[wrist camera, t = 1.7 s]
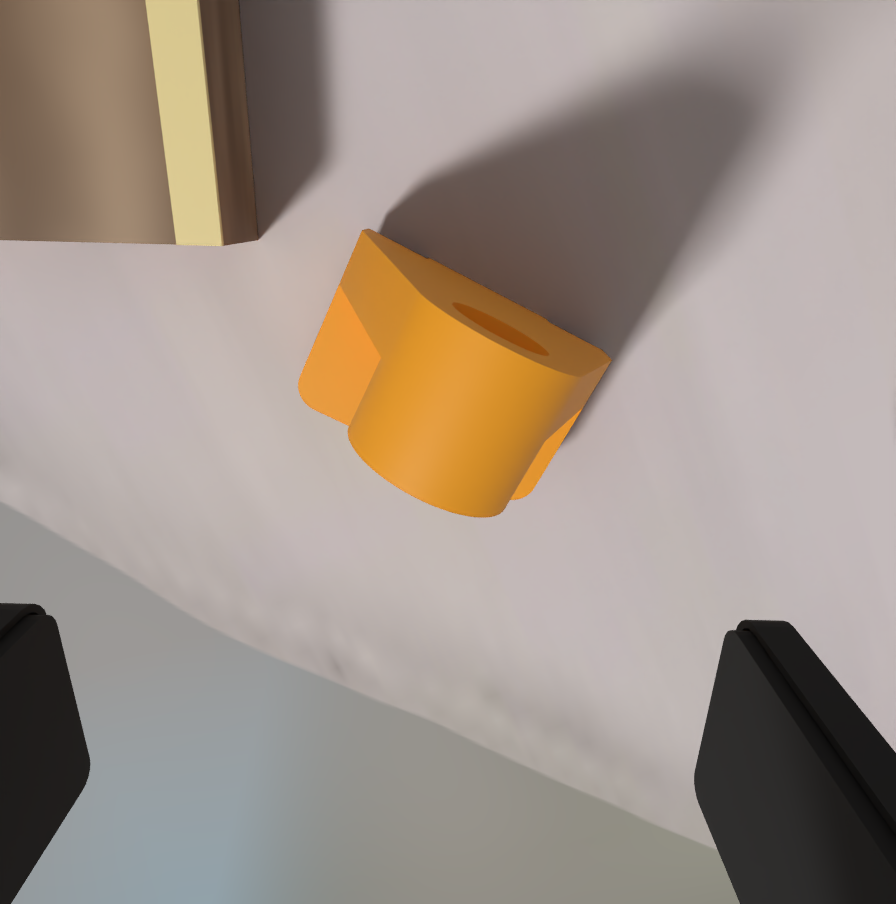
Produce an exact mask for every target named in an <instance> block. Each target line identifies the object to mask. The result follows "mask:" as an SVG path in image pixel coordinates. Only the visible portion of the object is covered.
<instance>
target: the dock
mask: <svg viewBox="0 0 896 904" xmlns="http://www.w3.org/2000/svg"><path fill="white" fill-rule="evenodd" d="M0 240H21V241H61V242H100V243H140V244H176V245H204V246H225V245H231V244H237V243H243V242H249V241H255V240H258V230H257V218H256V206H255V194H254V182H253V169H252V157H251V145H250V133H249V121H248V109H247V96H246V84H245V72H244V60H243V48H242V36H241V23H240V11H239V0H0Z"/></svg>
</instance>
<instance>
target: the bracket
mask: <svg viewBox="0 0 896 904" xmlns="http://www.w3.org/2000/svg"><path fill="white" fill-rule="evenodd" d="M611 361H612V360H611V359H610V358H609V357H608V356H607V354H606V353H605V352H604V351H603V350H601V349H599V348H597V347H595V346H593V345H592V344H590V343H588V342H586V341H584V340H582V339H580V338H578V337H576V336H574V335H572V334H570V333H569V332H567V331H565V330H563V329H561V328H559V327H557V326H555V325H553V324H551V323H549V322H548V321H547V319H545V318H543V317H541V316H540V315H538V314H536V313H534V312H532V311H530V310H528V309H526V308H524V307H522V306H520V305H518V304H517V303H515V302H513V301H511V300H509V299H507V298H505V297H503V296H501V295H499V294H497V293H495V292H494V291H492V290H490V289H488V288H486V287H484V286H482V285H480V284H478V283H476V282H474V281H472V280H471V279H469V278H467V277H465V276H463V275H461V274H459V273H457V272H455V271H453V270H451V269H450V268H448V267H446V266H444V265H442V264H440V263H438V262H436V261H434V260H432V259H430V258H428V259H427V258H425V257H423V256H421V255H419V254H417V253H415V252H413V251H411V250H409V249H407V248H406V247H404V246H402V245H400V244H398V243H396V242H394V241H392V240H390V239H388V238H386V237H384V236H383V235H381V234H379V233H377V232H375V231H373V230H371V229H365V230H362V232H361V234H360V237H359V239H358V241H357V244H356V246H355V249H354V251H353V253H352V256H351V258H350V260H349V263H348V265H347V267H346V270H345V272H344V274H343V277H342V279H341V281H340V284H339V286H338V288H337V291H336V293H335V296H334V298H333V300H332V303H331V305H330V307H329V310H328V312H327V314H326V317H325V319H324V321H323V324H322V326H321V328H320V331H319V333H318V336H317V338H316V340H315V343H314V345H313V347H312V350H311V352H310V354H309V357H308V359H307V361H306V364H305V366H304V368H303V371H302V373H301V376H300V378H299V382H298V389H299V393H300V396H301V398H302V399H303V401H304V402H305V403H306V404H307V405H308V406H309V407H311V408H312V409H314V410H316V411H318V412H320V413H322V414H325V415H327V416H329V417H331V418H333V419H335V420H337V421H340V422H342V423H344V424H346V425H348V426H349V428H348V437H349V441H350V443H351V445H352V446H353V448H354V450H355V451H356V452H357V454H358V455H359V456H360V457H361V458H362V459H363V461H364V462H365V463H366V464H367V465H369V466H370V467H371V468H372V469H373V470H374V471H375V472H377V473H378V474H379V475H380V476H382V477H383V478H384V479H386V480H387V481H388V482H390V483H391V484H393V485H394V486H396V487H398V488H399V489H401V490H403V491H404V492H406V493H408V494H410V495H411V496H413V497H415V498H417V499H419V500H421V501H423V502H426V503H428V504H430V505H433V506H435V507H438V508H440V509H443V510H446V511H449V512H452V513H456V514H460V515H465V516H470V517H492V516H496V515H498V514H500V513H501V512H503V510H504V509H505V507H506V506H507V504H508V502H509V501H510V500H516V499H521V498H523V497H525V496H527V495H528V494H529V493H530V492H531V491H532V490H533V489H534V487H535V486H536V484H537V482H538V481H539V479H540V478H541V476H542V474H543V473H544V471H545V469H546V468H547V466H548V464H549V463H550V461H551V459H552V458H553V456H554V454H555V453H556V451H557V450H558V448H559V446H560V445H561V443H562V441H563V440H564V438H565V436H566V435H567V433H568V431H569V430H570V428H571V427H572V425H573V423H574V422H575V420H576V418H577V417H578V415H579V413H580V412H581V410H582V408H583V407H584V405H585V404H586V402H587V400H588V399H589V397H590V395H591V394H592V392H593V390H594V389H595V387H596V385H597V384H598V382H599V381H600V379H601V377H602V376H603V374H604V372H605V371H606V369H607V367H608V366H609V364H610V362H611Z"/></svg>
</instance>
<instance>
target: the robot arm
mask: <svg viewBox="0 0 896 904" xmlns="http://www.w3.org/2000/svg"><path fill="white" fill-rule="evenodd" d="M89 771H90V757H89V753H88V749H87V745H86V741H85V737H84V733H83V729H82V725H81V720H80V717H79V712H78V708H77V704H76V700H75V696H74V692H73V688H72V683H71V680H70V675H69V671H68V667H67V663H66V659H65V655H64V651H63V647H62V642H61V638H60V634H59V630H58V626H57V623H56V620H55V619H54V618H53V617H52V616H50V615H46V612H45V610H44V609H43V608H42V607H41V606H40V605H36V604H13V603H0V904H11V903H12V901H13V899H14V898H15V896H16V895H17V893H18V892H19V890H20V888H21V887H22V885H23V884H24V882H25V881H26V879H27V877H28V876H29V874H30V873H31V871H32V869H33V868H34V866H35V865H36V863H37V861H38V860H39V858H40V857H41V855H42V854H43V852H44V850H45V849H46V847H47V846H48V844H49V843H50V841H51V839H52V838H53V836H54V835H55V833H56V831H57V830H58V828H59V827H60V825H61V823H62V822H63V820H64V819H65V817H66V816H67V814H68V812H69V811H70V809H71V808H72V806H73V805H74V803H75V801H76V800H77V798H78V797H79V795H80V793H81V792H82V790H83V788H84V786H85V785H86V782H87V779H88V776H89ZM694 784H695V792H696V796H697V800H698V803H699V805H700V808H701V810H702V813H703V815H704V817H705V820H706V822H707V825H708V827H709V829H710V832H711V834H712V837H713V839H714V842H715V844H716V846H717V849H718V851H719V854H720V856H721V859H722V861H723V863H724V866H725V868H726V871H727V873H728V876H729V878H730V880H731V883H732V885H733V888H734V890H735V892H736V895H737V897H738V900H739V902H740V904H896V753H895V751H894V750H893V749H892V748H891V747H890V745H889V744H888V743H887V742H886V740H885V739H884V738H883V737H882V735H881V734H880V733H879V732H878V731H877V729H876V728H875V727H874V726H873V724H872V723H871V722H870V721H869V719H868V718H867V717H866V716H865V714H864V713H863V712H862V711H861V710H860V708H859V707H858V706H857V705H856V703H855V702H854V701H853V700H852V698H851V697H850V696H849V695H848V694H847V692H846V691H845V690H844V689H843V687H842V686H841V685H840V684H839V682H838V681H837V680H836V679H835V677H834V676H833V675H832V674H831V673H830V671H829V670H828V669H827V668H826V666H825V665H824V664H823V663H822V661H821V660H820V659H819V658H818V657H817V655H816V654H815V653H814V652H813V650H812V649H811V648H810V647H809V645H808V644H807V643H806V642H805V640H804V639H803V638H802V637H801V636H800V634H799V633H798V632H797V631H796V629H795V628H794V627H793V626H792V625H791V624H790V623H789V622H786V621H770V620H744V621H741V622H740V623H739V625H738V626H737V629H736V630H731V631H728V632H727V633H726V635H725V638H724V641H723V646H722V651H721V655H720V660H719V664H718V669H717V673H716V678H715V682H714V687H713V691H712V696H711V700H710V705H709V710H708V714H707V719H706V723H705V728H704V732H703V737H702V741H701V746H700V750H699V755H698V759H697V764H696V769H695V775H694Z"/></svg>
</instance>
